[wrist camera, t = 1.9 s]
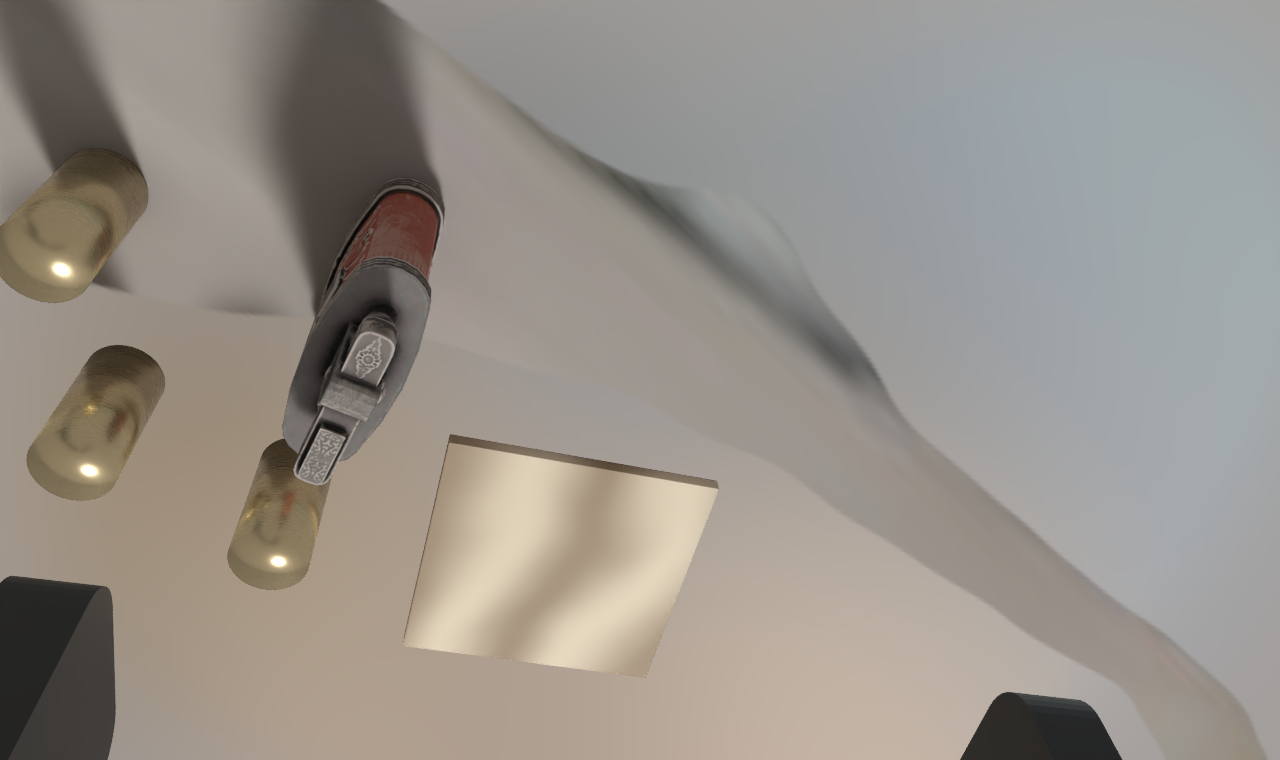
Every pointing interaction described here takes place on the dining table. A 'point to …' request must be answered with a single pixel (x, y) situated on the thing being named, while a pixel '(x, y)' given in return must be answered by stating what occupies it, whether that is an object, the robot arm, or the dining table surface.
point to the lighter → (364, 328)
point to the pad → (554, 557)
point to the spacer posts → (132, 370)
